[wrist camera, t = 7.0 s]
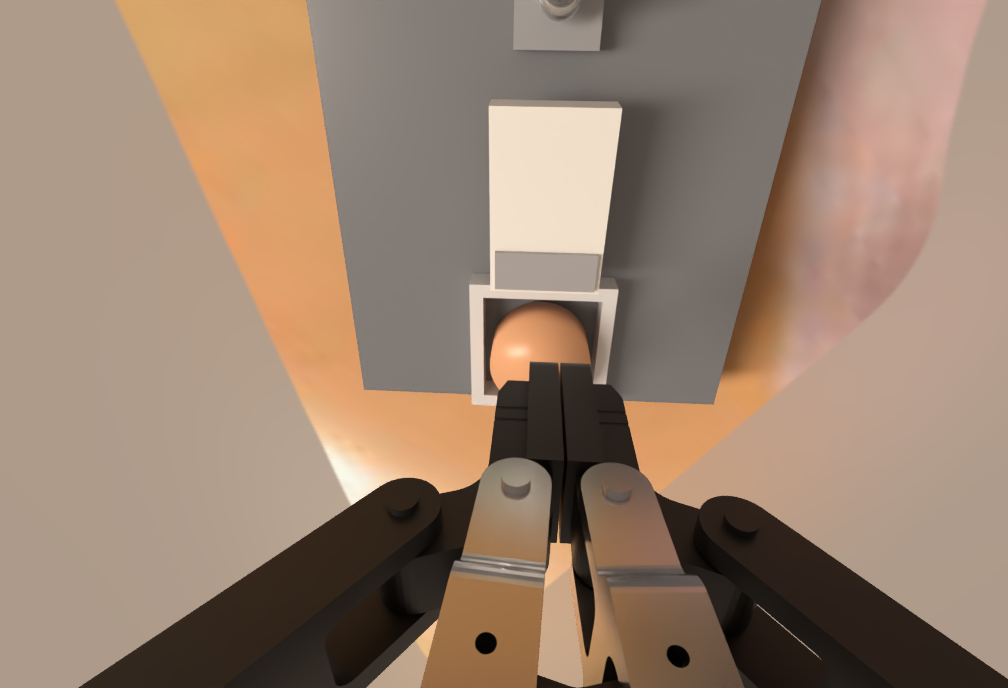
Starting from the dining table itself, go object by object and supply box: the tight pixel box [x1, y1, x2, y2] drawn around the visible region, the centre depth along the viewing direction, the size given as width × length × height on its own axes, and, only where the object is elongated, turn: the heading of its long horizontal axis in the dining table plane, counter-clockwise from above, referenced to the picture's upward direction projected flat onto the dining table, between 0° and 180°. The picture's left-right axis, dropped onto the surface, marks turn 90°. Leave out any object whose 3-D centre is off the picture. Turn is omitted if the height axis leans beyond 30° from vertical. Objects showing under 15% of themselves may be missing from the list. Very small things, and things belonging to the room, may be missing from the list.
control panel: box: [306, 0, 821, 406], centre depth 21 cm, size 18×26×4 cm
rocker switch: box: [489, 99, 622, 295], centre depth 19 cm, size 4×7×1 cm, turn 179°
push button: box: [490, 302, 591, 390], centre depth 23 cm, size 4×4×2 cm
